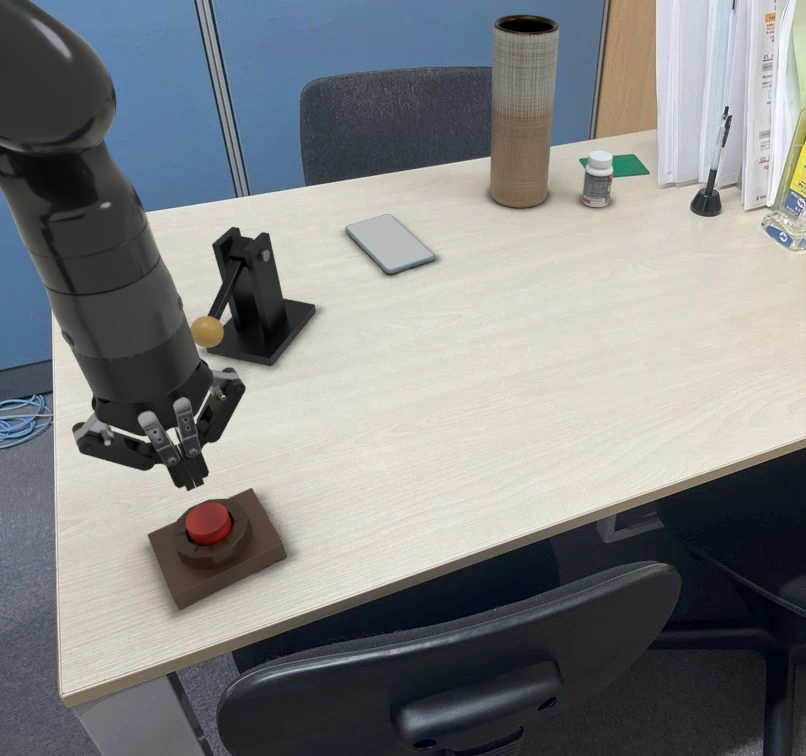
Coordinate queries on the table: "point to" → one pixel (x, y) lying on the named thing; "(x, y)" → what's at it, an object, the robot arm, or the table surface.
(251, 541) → the block
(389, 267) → the smartphone
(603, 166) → the pill bottle
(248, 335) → the latch bracket
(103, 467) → the table surface
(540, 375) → the table surface
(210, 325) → the latch lever
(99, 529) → the table surface
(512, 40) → the vase
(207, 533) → the release button
